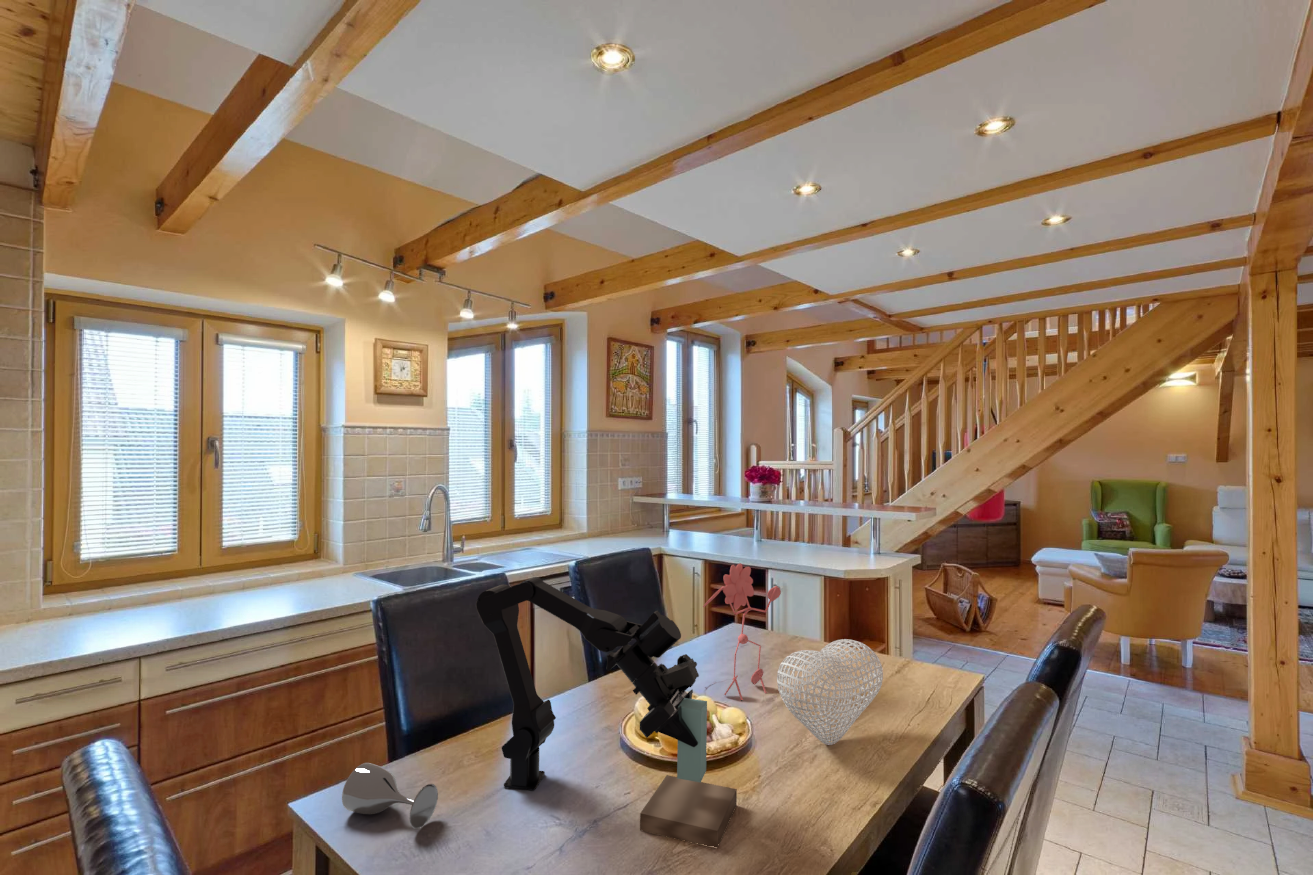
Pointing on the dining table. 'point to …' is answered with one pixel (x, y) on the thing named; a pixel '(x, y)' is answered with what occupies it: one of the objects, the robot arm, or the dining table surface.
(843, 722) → the heart
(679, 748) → the teal block
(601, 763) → the dining table surface
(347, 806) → the wine glass
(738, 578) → the flower headed figure
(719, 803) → the walnut pedestal
